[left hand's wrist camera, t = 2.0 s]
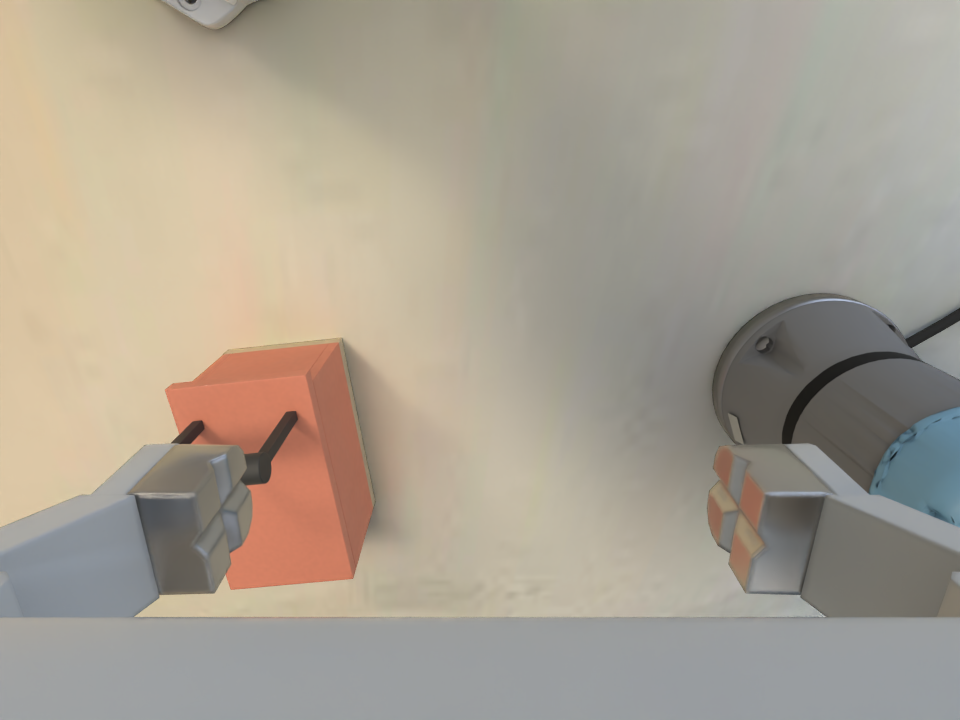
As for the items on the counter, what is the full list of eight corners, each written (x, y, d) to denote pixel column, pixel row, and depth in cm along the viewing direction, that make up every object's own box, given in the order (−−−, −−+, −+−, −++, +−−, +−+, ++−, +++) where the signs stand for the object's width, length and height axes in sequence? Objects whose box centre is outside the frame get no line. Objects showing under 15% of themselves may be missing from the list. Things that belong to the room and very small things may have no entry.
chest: (228, 349, 49) (176, 394, 41) (341, 337, 49) (313, 380, 40) (273, 511, 55) (236, 579, 47) (375, 501, 55) (356, 568, 46)
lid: (172, 383, 40) (94, 446, 32) (310, 368, 40) (266, 429, 32) (236, 580, 46) (183, 675, 38) (356, 569, 46) (329, 663, 38)
